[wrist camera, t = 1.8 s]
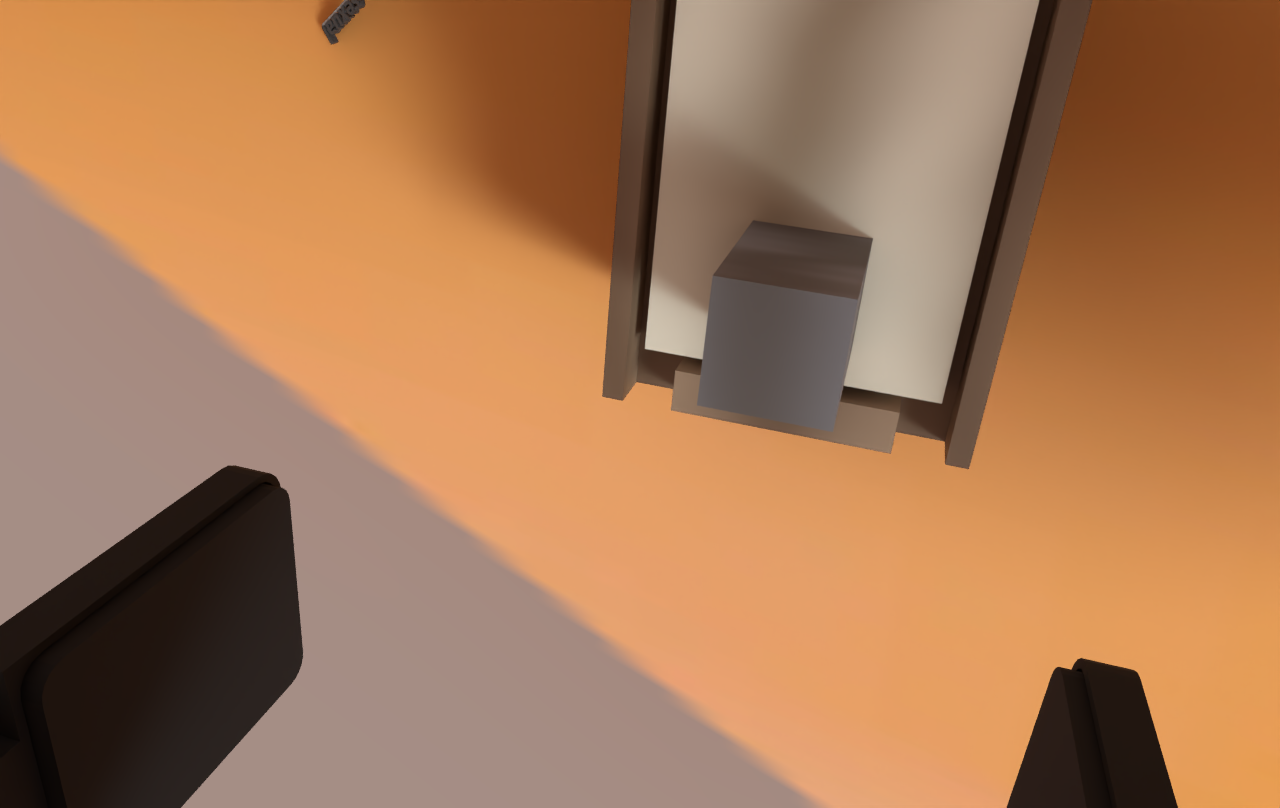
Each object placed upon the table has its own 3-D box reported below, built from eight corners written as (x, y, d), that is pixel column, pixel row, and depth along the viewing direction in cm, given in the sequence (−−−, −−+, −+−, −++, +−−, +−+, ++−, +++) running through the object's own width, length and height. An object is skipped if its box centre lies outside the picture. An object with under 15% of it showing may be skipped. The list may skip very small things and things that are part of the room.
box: (1100, -203, 25) (1163, -271, 18) (962, 357, 32) (968, 469, 25) (727, -223, 28) (652, -291, 20) (672, 306, 34) (602, 396, 27)
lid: (1090, -229, 20) (1143, -299, 15) (941, 389, 26) (942, 496, 21) (710, -247, 22) (636, -316, 16) (654, 336, 28) (586, 423, 22)
